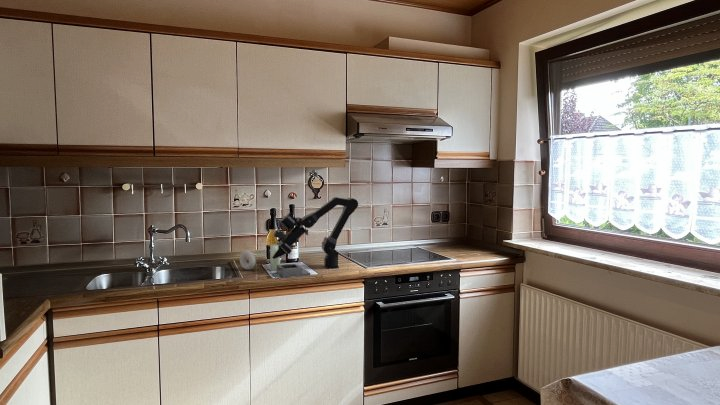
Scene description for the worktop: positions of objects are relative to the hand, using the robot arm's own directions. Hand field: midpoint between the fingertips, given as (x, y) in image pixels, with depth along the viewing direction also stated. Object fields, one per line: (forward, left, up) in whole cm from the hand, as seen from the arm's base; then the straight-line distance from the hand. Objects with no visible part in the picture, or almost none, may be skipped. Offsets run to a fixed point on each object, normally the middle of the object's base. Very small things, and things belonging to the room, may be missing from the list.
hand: (272, 257), depth 230 cm
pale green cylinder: (-1, 0, -7) cm, 7 cm away
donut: (+12, -5, -7) cm, 14 cm away
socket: (-7, +12, -7) cm, 15 cm away
